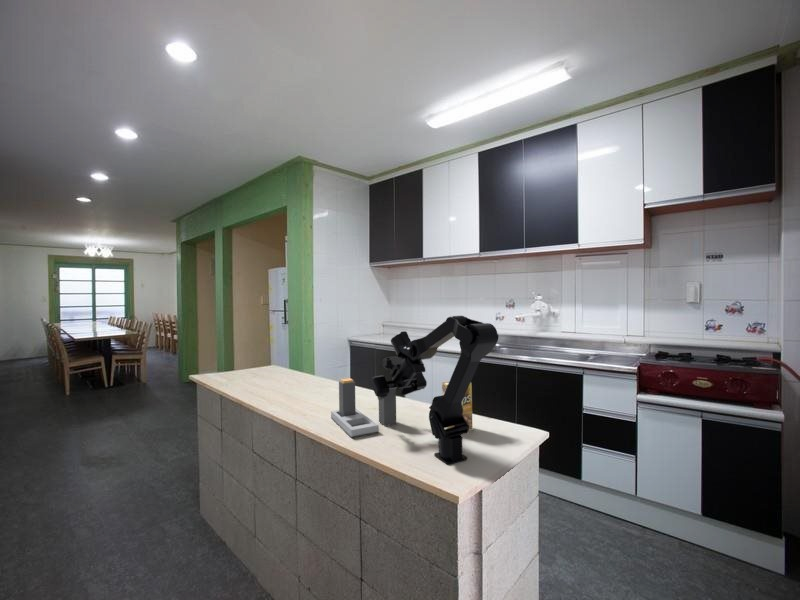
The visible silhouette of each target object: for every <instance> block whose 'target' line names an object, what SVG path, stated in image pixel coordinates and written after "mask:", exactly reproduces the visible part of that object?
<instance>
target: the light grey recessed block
mask: <svg viewBox="0 0 800 600" xmlns="http://www.w3.org/2000/svg"><path fill="white" fill-rule="evenodd" d="M330 418H331V420H332V421H333V422H334V423H335V424H336V425H337V426H338V427H339V428H340V429H341V430H343V432H344V433H346V435H347V436H348V437H350V439H355V438H360V436H361V437H364V436H365V435H366V436H370V435H376V434H379V424H377V423H376V422H375V421H374V420H372V419H371V418H369V417H368V416H367V415H365V414H364V413H363V412H362V411H360V410H359V409H358V408H356V415H350V416H344V417H341V416H340V415H339V409H336V410H331V411H330ZM366 436H365V437H366Z"/></svg>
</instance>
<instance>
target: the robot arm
mask: <svg viewBox="0 0 800 600" xmlns="http://www.w3.org/2000/svg"><path fill="white" fill-rule="evenodd" d="M453 338H455V339H457V340H458V341H459V346H460V347H459V348H460V351H461V353H460V355H459V358H458V360H457V362H456V365H455V367H454V370H453V372H452V375H451V377H450V379H449V381H448V382H449V384H448V386H447V388H446V391H445V393H444V395H438V396H434V397H433V398H432V401H431V404H430V406H429V408H428V409H430V410H429V413H428V420H429V425H430V429H431V434H432V436H434V437H435V439H437V440H438V452H435V453H434V454H433V456H434V457H436V458H437V459H439V460H440V461H441V462H443V463H445V464H446V465H450V464H454V463H459V462H461V461H462V462H463V461H465V460H466V461H467V460H468V456H466V455H465V454H463V436H462V435H466V434H468V433H469V431H470V430H469V425H468V424H467V422H466V420H465V418H464V417H463V415H462V414H463V407H462V400H463V398H464V396H465V393H466V391H467V389H468V387H469V385H470V382H471V383H472V380H473V378H474V376H475V373H476V371H477V369H478V368H479V364H480V362H481V360H483V359H484V358H485V357H487V355H488V354H490V353H491V352H492V350H493V349H494V347H495V346H496V345H497V343H498V340H499V333H498V330H497V328H496V327H495V326H494V325H493V324H492V323H489V322H485V323H484V322H483V321H478V320H475V319H470V318H468V317H467V316H464V315H451V316H449V317H447V318H446V320H444V321H443V322H442V323H441V324H440V325H438V326H437V327H436V328H435V329H433V330H432V331H430V332H429V333H428V334H427V335H425V336H422V337H419V338H416V339H413V340H411V339H410V336H409V334H408V332H407V331H400V332H399V334H396V335H394V336H393V337H391V338H390V342H391V345H392V347H393V350H394V352H395V354H396V355H394V356H393V355H392V356H388V357H384V359H383V360H382V362H381V365H382V366H383V368H384V369H385V370H389V371H390V372H389V376H390V377H392V380H388V381H387V379H386V377H385V376H384V375H376V376H372V378H371V379H370V385H371V387H372V389H373V393H374V395H375V396H376V397H377V400H378V401H379V400H381V399H383V398H384V397H386V396H388V395H387V394H388V393H389V389H393V388H396V390H401V393H400V394H401V396H402V397H404V396H406V395H410V394H412V393H415V392H418V391H421V390H424V389H425V388H426V387H427V384H428V382H427V380H426V378H425V376H424V373H426V366H425V363H423V360H430V359H432V358H433V357H434V356H435V355H436V354H437V352H438V349H439V347H441V346H442V345H444V344H445V343H447V342H448V341H450V340H451V339H453ZM453 425H454V427H452V428H448V429H444V428H445V427H449V426H453Z"/></svg>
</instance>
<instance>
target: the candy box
mask: <svg viewBox="0 0 800 600" xmlns="http://www.w3.org/2000/svg"><path fill="white" fill-rule="evenodd" d="M448 384H449V381H445V382H441V394H442V395H444V393H445V391H446V388H447V386H448ZM472 386H473V385H472V381H471V382H470V385H469V387H468V389H467V391H466V393H465V396H464V398H463V400H462V407H463V414H462V415H463V417H464V418H465V420H466V422H467V424H468V425H469V431H473V429H474V427H473V391H472V390H473V387H472ZM442 395H441V396H442ZM452 427H454V425H453V426H449V427H445V428H444V429H448V428H452Z"/></svg>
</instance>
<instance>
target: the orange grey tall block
mask: <svg viewBox="0 0 800 600" xmlns="http://www.w3.org/2000/svg"><path fill="white" fill-rule="evenodd" d="M387 395H388V396H386V397H384V398H383V399H381V400H378V423H379V422H380V423H379V424H380V425H382V426H383V425H384V427H388V425H389V426H393V424H394V425H397V388H393V389H389V393H388V394H387Z"/></svg>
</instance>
